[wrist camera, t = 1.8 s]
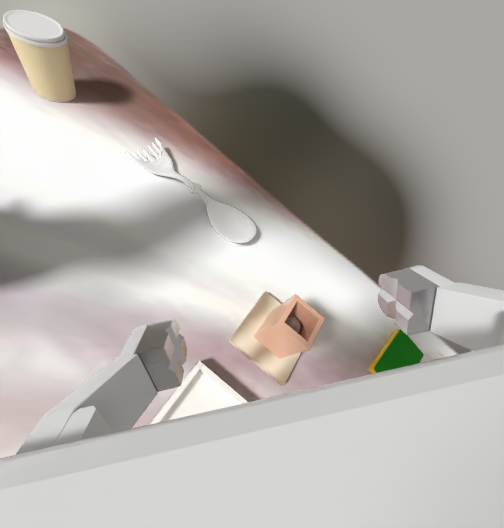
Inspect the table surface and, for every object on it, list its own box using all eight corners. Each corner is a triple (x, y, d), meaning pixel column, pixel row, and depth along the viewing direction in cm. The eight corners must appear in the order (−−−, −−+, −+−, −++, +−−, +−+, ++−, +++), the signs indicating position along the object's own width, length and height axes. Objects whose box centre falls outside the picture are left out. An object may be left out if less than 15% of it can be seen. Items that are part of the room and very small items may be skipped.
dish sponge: (414, 355, 57) (424, 354, 55) (389, 399, 49) (399, 399, 47) (393, 330, 58) (402, 328, 56) (366, 369, 50) (375, 368, 48)
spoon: (156, 148, 58) (156, 135, 55) (260, 232, 57) (265, 223, 54) (125, 163, 53) (123, 150, 50) (238, 255, 52) (243, 247, 49)
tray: (112, 471, 30) (109, 476, 28) (197, 362, 39) (199, 360, 37) (209, 556, 30) (213, 568, 28) (272, 427, 39) (279, 428, 37)
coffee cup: (87, 89, 58) (74, 27, 48) (69, 110, 54) (51, 46, 44) (42, 72, 56) (18, 2, 46) (19, 92, 51) (-12, 20, 41)
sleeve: (253, 336, 43) (277, 322, 35) (270, 312, 47) (295, 293, 38) (279, 358, 43) (309, 349, 35) (294, 332, 46) (325, 318, 38)
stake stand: (228, 340, 43) (243, 330, 36) (263, 293, 50) (281, 277, 43) (280, 385, 42) (306, 383, 35) (308, 331, 49) (334, 321, 42)
